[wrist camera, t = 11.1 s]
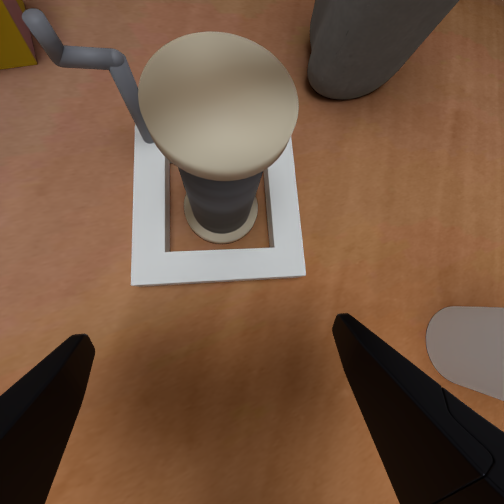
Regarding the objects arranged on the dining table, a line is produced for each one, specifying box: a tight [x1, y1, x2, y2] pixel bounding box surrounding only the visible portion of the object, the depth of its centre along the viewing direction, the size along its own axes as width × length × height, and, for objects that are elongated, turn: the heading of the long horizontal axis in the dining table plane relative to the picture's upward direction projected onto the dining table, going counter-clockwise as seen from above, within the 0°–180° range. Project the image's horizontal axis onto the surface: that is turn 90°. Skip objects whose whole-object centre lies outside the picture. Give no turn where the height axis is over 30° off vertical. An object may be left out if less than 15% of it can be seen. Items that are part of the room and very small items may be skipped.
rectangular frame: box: [22, 9, 306, 287], centre depth 17 cm, size 14×16×11 cm
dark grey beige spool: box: [138, 32, 299, 244], centre depth 16 cm, size 7×7×13 cm
